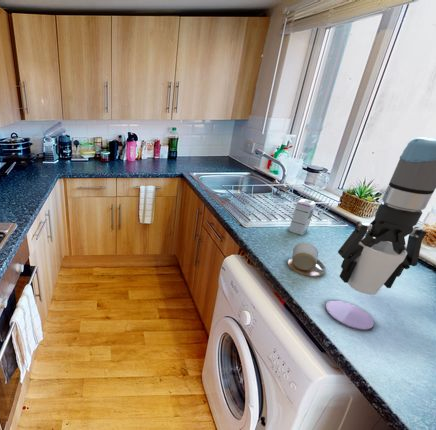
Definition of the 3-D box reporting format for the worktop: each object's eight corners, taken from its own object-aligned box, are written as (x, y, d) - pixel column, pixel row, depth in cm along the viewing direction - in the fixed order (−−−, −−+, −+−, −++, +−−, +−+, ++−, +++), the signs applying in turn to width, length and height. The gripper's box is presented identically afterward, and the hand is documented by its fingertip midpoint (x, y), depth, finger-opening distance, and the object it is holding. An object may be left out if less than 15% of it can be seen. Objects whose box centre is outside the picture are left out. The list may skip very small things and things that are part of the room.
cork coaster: (314, 260, 107) (315, 259, 107) (329, 278, 97) (329, 277, 97) (283, 257, 109) (283, 256, 108) (293, 274, 99) (294, 273, 99)
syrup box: (302, 235, 124) (312, 205, 118) (287, 230, 128) (297, 200, 122) (306, 231, 128) (317, 201, 122) (292, 227, 132) (301, 197, 126)
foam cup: (337, 286, 78) (355, 244, 72) (344, 272, 84) (361, 233, 78) (382, 304, 72) (406, 260, 66) (386, 287, 77) (408, 246, 72)
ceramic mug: (289, 267, 102) (295, 249, 98) (290, 257, 108) (296, 239, 104) (324, 278, 97) (332, 259, 93) (323, 266, 103) (331, 248, 100)
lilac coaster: (359, 304, 86) (359, 303, 86) (382, 333, 76) (383, 331, 76) (318, 299, 88) (319, 298, 87) (336, 326, 78) (337, 325, 78)
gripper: (442, 204, 69) (401, 279, 78) (341, 196, 73) (313, 268, 82) (471, 217, 62) (422, 297, 72) (358, 207, 66) (325, 285, 75)
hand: (364, 282), depth 77 cm, fingers closed on foam cup, 9 cm apart
